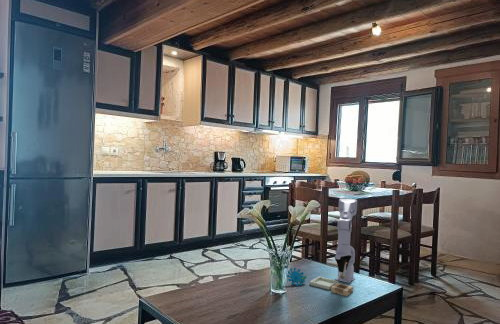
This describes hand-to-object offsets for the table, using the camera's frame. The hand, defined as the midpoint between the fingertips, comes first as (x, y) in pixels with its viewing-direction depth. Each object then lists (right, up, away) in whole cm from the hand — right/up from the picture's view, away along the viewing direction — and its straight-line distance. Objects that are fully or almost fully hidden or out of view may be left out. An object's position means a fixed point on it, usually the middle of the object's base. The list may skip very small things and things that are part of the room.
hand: (342, 270), depth 173 cm
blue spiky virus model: (-22, -10, +9) cm, 25 cm away
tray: (-7, -10, +9) cm, 15 cm away
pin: (0, -3, 0) cm, 3 cm away
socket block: (0, -10, 0) cm, 10 cm away
